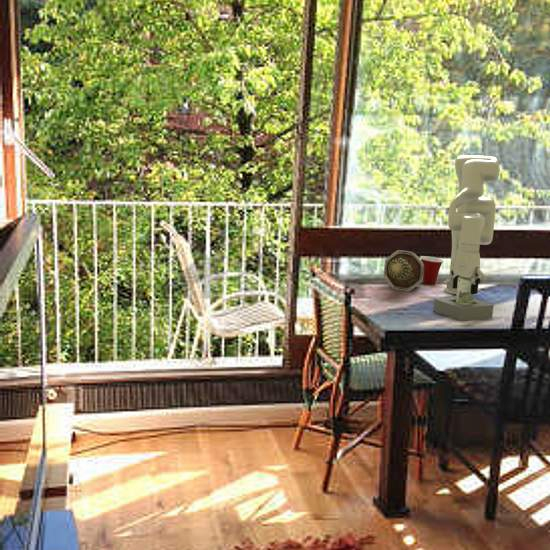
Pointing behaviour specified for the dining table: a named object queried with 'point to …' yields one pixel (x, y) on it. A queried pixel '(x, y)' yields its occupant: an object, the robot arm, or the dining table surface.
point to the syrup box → (464, 291)
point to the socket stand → (463, 309)
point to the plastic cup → (431, 269)
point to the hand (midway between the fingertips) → (464, 291)
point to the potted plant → (403, 270)
